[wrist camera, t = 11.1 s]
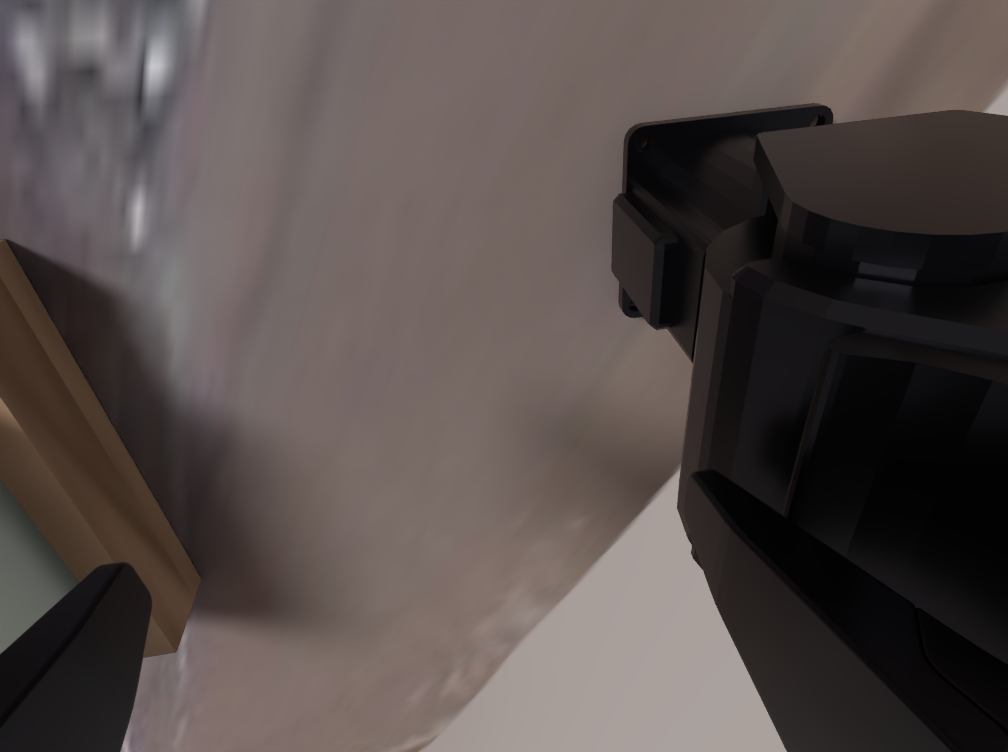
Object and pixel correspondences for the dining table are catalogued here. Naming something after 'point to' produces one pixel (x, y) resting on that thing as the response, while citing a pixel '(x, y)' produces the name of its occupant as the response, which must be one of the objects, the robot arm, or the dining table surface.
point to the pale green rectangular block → (26, 571)
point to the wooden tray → (80, 464)
